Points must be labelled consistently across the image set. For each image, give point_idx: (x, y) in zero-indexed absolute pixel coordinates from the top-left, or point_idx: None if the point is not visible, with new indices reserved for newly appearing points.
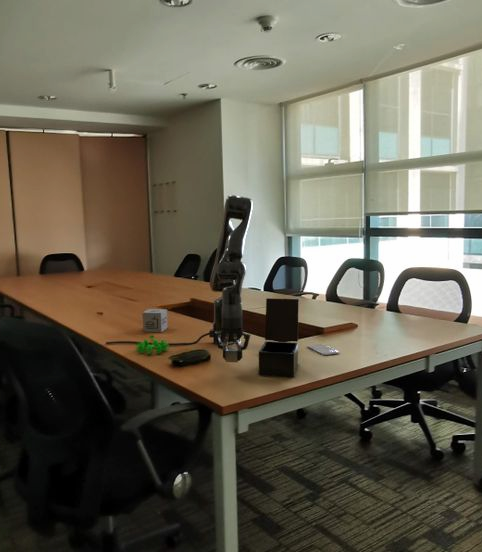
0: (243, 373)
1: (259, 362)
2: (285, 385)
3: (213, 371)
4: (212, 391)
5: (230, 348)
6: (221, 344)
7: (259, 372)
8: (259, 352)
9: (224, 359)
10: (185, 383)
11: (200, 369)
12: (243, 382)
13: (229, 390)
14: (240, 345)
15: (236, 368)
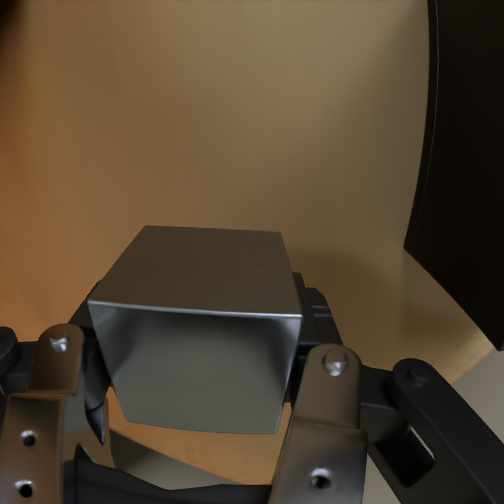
0: (301, 220)
1: (452, 294)
2: (471, 351)
3: (79, 210)
4: (192, 442)
5: (152, 364)
6: (10, 382)
7: (415, 256)
8: (500, 347)
9: None
10: None
11: (8, 189)
12: None
13: (253, 434)
14: (338, 416)
15: (228, 101)
